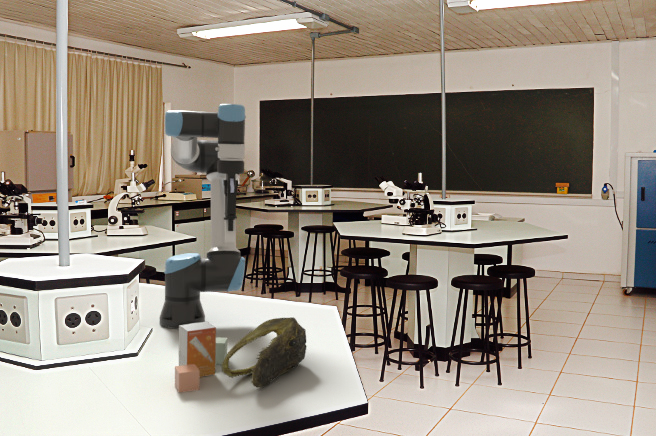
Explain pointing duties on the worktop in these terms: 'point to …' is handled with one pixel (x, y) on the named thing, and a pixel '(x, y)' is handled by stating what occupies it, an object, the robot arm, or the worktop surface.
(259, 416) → the worktop surface
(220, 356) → the sage block
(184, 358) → the small box
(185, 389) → the terracotta cube
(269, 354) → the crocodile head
